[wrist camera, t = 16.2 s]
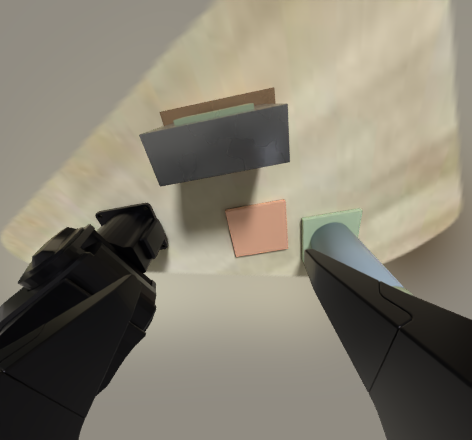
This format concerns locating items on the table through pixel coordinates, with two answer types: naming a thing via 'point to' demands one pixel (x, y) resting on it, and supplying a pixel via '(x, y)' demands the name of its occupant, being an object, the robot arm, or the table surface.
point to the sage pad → (314, 222)
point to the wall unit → (219, 138)
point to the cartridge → (351, 252)
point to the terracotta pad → (258, 227)
